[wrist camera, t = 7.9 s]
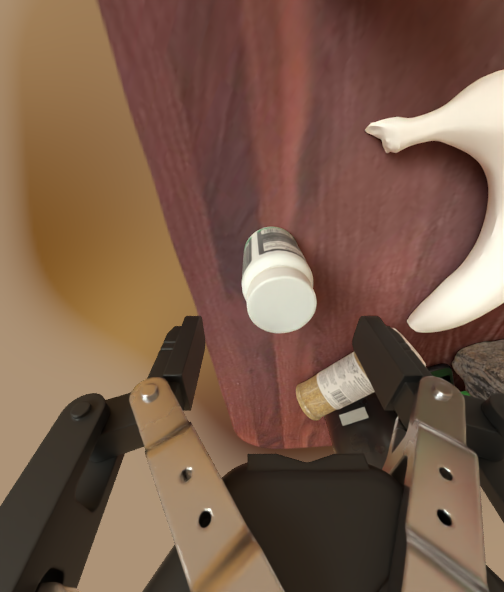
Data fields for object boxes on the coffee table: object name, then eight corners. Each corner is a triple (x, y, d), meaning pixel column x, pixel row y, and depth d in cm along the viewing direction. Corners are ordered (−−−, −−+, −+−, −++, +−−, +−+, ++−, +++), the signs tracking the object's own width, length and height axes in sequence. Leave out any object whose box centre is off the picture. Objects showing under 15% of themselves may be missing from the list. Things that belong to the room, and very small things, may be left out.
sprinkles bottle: (319, 405, 30) (419, 353, 25) (316, 430, 26) (435, 374, 21) (297, 377, 30) (390, 320, 25) (290, 398, 26) (400, 335, 21)
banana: (451, 325, 24) (315, 319, 24) (593, 91, 15) (372, 76, 15) (493, 359, 20) (328, 351, 20) (728, 62, 11) (421, 39, 10)
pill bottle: (262, 284, 22) (267, 349, 15) (233, 244, 20) (222, 297, 13) (307, 259, 20) (336, 317, 13) (281, 213, 18) (299, 253, 11)
